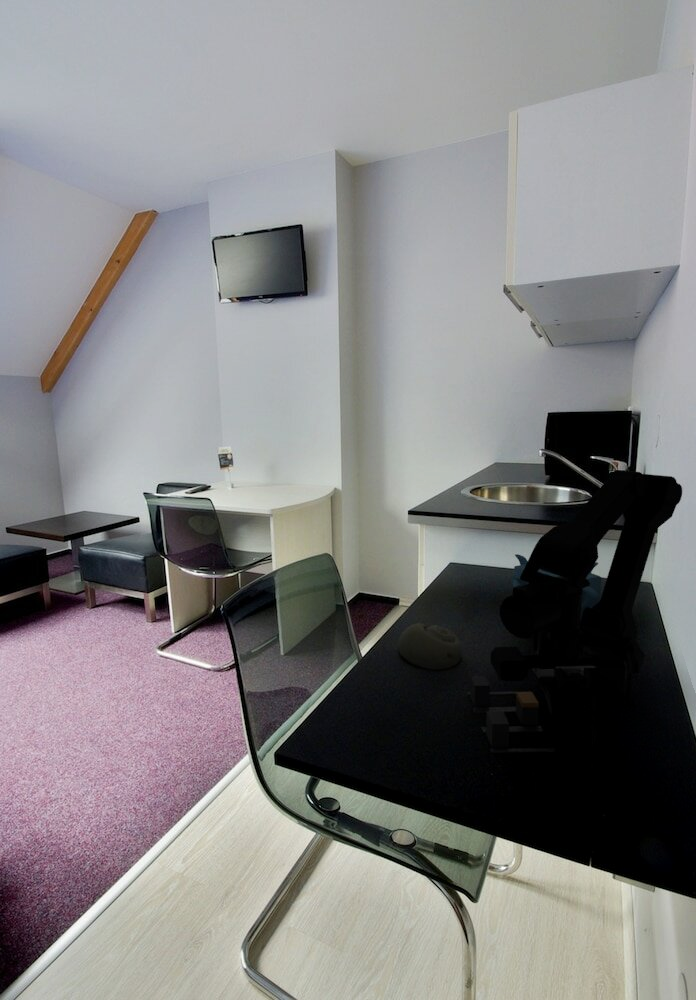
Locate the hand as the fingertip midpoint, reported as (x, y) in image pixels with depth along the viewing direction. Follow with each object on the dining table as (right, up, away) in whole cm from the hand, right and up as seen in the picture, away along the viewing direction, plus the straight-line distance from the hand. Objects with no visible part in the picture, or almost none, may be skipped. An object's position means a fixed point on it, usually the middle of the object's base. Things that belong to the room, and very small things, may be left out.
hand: (553, 713), depth 77 cm
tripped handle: (-4, -1, 0) cm, 4 cm away
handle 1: (-10, 0, +5) cm, 11 cm away
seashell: (-16, +1, +21) cm, 26 cm away
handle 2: (-10, -2, -5) cm, 11 cm away
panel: (-7, -2, +1) cm, 8 cm away
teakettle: (+15, +5, +38) cm, 41 cm away
